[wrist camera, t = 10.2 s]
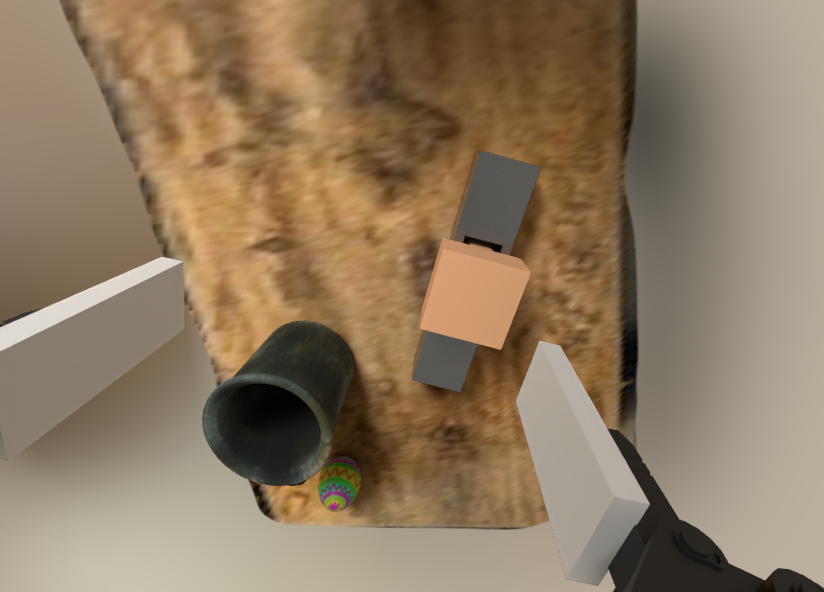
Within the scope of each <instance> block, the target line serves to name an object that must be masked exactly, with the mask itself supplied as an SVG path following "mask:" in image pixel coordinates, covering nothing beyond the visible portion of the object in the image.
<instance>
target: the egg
mask: <svg viewBox="0 0 824 592" xmlns="http://www.w3.org/2000/svg"><path fill="white" fill-rule="evenodd" d="M360 486H361V471H360V468H359V466H358V464H357V463H356V462H355V461H354V460H353V459H351V458H349V457H346V456H340V457H336V458H334V459H332V460H331V461H329V462H328V463H327V464H326V466H325V467H324V468H323V470H322V472H321V475H320V478H319V484H318V492H319V497H320V500H321V502H322V504H323V505H324V507H325V508H326V509H328V510H330V511H333V512H337V511H341V510H343V509H345V508H346V507H348V506H349V505H350V504H351V503H352V502H353V500H354V499H355V498H356V496H357V494H358V492H359V489H360Z"/></svg>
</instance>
